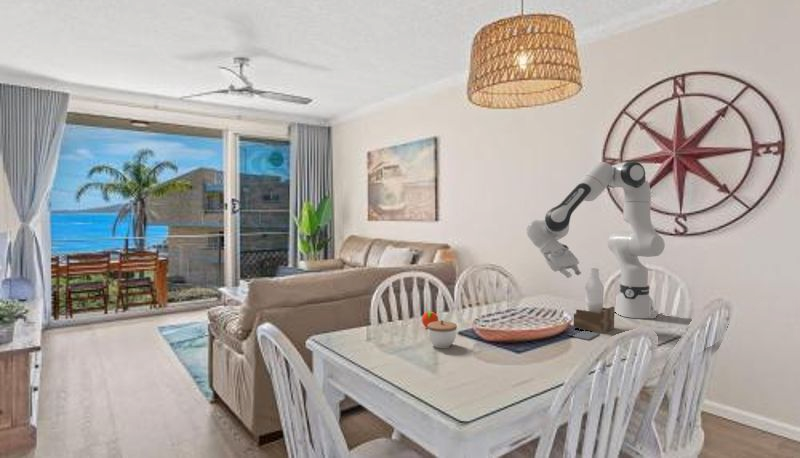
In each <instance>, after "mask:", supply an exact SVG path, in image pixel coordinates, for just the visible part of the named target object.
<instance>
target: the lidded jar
mask: <svg viewBox="0 0 800 458" xmlns="http://www.w3.org/2000/svg"><path fill="white" fill-rule="evenodd" d="M427 327H428V328H427ZM427 327H426V328H427V335H428V340H429V341H430V343H431V344H432V345H433V347H435V348H438V349H447V348H450V347H451V345H453V344H454V342H455V340H456V338H457V327H458V326H457V323H455V322H451V321H445V320H444V319H440V321H439V320H438V321H436V322H431V323H429V324H428V325H427Z"/></svg>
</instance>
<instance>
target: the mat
mask: <svg viewBox="0 0 800 458" xmlns="http://www.w3.org/2000/svg"><path fill="white" fill-rule="evenodd" d="M600 335H601V333H596V332H590V331H585V330H584V331H582V332H580V333H577V334H575V335H573V336H574V337H577V338H576V339H579V338H580V339H579V340H583V341H590V340H592V339H594V338H596V337H598V336H600ZM574 337H573V338H574Z"/></svg>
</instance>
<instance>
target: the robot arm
mask: <svg viewBox="0 0 800 458" xmlns="http://www.w3.org/2000/svg"><path fill="white" fill-rule="evenodd" d="M607 187H609V188H613V189H614V188H622V190H623V192H624V197H623V215H622V217H623V220H624V221H625V222H626V223H627V224H629V225H630V226H631V228H632V229H631V230H632V231H618V232H613V233H611V234H610V235H609V237H608V239H607V246H608V248H609V250H610V251H611V252H612V253H613V254H614V256H615V257H616V258H617V261H618V263H619V267H620V284H619V292H620V293H618V294H616V298H615V300H616V301H615V308H614V312H616V313H617V314H616V313H615V314H616V315H618V314H619V315H618V316H620V315H621V317H625V318H631V319H654V318H655V319H657V317H658V314H659V310H657V309H654V300H653V299H652V297H651V295H650V289H651V287H650V285H649V283H648V282H649V281H648V280H649V277H648V276H649V271H648V268H647V267H646V266H645V265H644V264H642V263H641V262H640V259H639V257H644V258H645V257H646V258H650V257H658V256H660V255H661V254H662V253H663V252H664V251H665V246H666V245H665V241H664V238H663V237H662V236H661V235H660V234H659V233H658V232H657V231H656V230H655V228H654V226H653V224H652V219H651V203H652V197H651V195H652V194H651V186H650V182H649V181H648V180H647V179H646V171H645V167H644V166H643V165H642V163H640V162H637V161H628V162H627V161H626V162H624V161H623V162H618V163H615V164H612V165H611V164H610V163H608V162H605V161H598V162H597V163H595V164H594V165H592V166H591V167H590V168H589V169H588V170H587V172H585V174H584V175H582V177H581V178H580V180H579V181H578V182H577V184H576V185H575V187H574V188H573V189H572V190H571V192H570V193H569V194H568V195H567V196H566V197H565V198H564V199H563V200H562V201H561V203H559V204H558V205H556V206H554V207H552V208H551V209H549V210H548V211H547V212H546V214H545V216H544V219H541V220H540V219H539V220H537V219H536V220H532V222H531V223H530V224H529V225H528V226H527V228H526V236H527V237H528V238H529V239H530V241H531V243H533V245H534V246H535V247H537V248H538V249H539V251H540V253H541V254H542V255H543V257H544V260H545V262H546V264H547V266H548V267H549V268H550V269H551V270H552V271H553V272H560V273H561V274H563V275H564V276H565V277H566V279H568V278H569V279H570V278H571V277H572V273H571V272H570V271H569V272H568V269H572V270H573V272H574V274H575V275H576V276H580V275H581V274H582V272H581V270H580V269H579V267H578V265H579V263H580V261H579V259H578V258H577V257H576V255H574V253H573V252H572V251H571V250H569V249H570V248H569V246H568V245H566V244H563V243H561V242H559V240H561V239H563V238H564V237H566V236H567V235H568V233H569V230H570V221H571V217H572V214H573V213H574V212H575V210H577V208H578V207H580V205H581V204H582V203H583V202H593V201H595V200H596V199H597V198H598V197H600V196H601V194H602V193H603V192H604V191H605V189H607ZM656 316H657V317H656Z"/></svg>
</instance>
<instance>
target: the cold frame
mask: <svg viewBox="0 0 800 458" xmlns="http://www.w3.org/2000/svg"><path fill="white" fill-rule="evenodd" d="M614 309H616V306H610V307H603V308H602V311H601V313H597V312H591V311H586V309H575V310H576V311H575V313H574V314H573V328H574V327H577V328H581V329H585V330H589V331H592V332H595V333H600V335H603V334H606V333H607V332H610V331H611V330H613V329H615V313H614ZM585 330H584V331H585Z"/></svg>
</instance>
